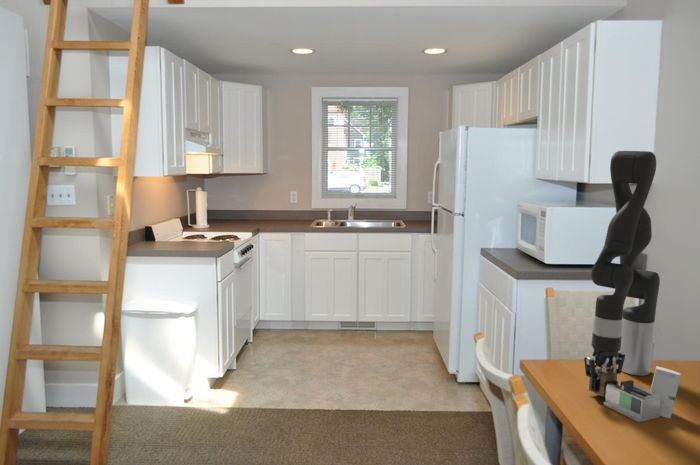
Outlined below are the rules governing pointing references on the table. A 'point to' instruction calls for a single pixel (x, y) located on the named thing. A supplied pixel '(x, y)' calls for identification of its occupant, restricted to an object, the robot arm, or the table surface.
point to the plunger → (619, 386)
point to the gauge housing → (633, 402)
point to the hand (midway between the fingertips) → (602, 389)
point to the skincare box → (665, 389)
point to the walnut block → (604, 381)
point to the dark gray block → (628, 385)
